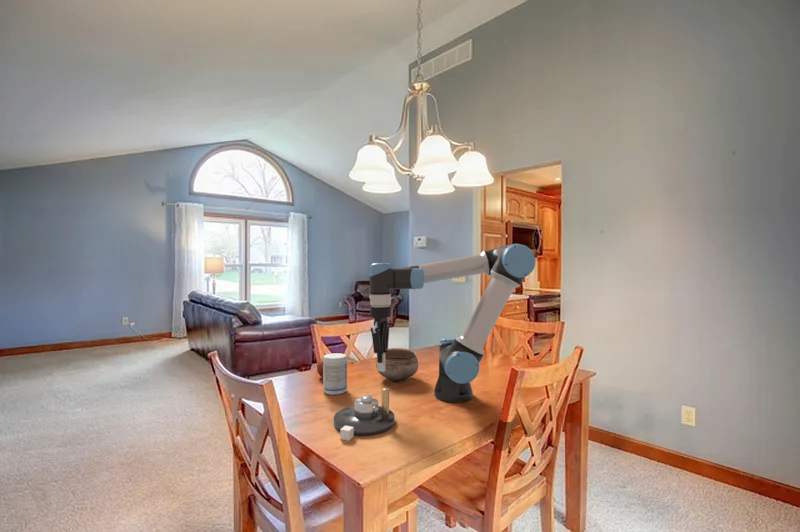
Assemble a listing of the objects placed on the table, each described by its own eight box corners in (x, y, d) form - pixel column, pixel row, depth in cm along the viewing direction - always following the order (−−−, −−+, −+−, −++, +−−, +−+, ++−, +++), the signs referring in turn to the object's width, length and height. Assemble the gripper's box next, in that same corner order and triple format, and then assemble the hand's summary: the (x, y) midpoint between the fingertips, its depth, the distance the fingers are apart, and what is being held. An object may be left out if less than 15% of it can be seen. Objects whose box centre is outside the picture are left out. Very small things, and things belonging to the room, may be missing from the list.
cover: (381, 412, 135) (382, 394, 135) (372, 421, 128) (372, 402, 128) (360, 409, 138) (360, 391, 138) (350, 417, 131) (350, 399, 131)
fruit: (339, 380, 176) (340, 358, 176) (316, 382, 174) (316, 359, 174) (338, 373, 186) (338, 352, 186) (316, 374, 184) (317, 353, 184)
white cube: (353, 436, 122) (353, 426, 122) (349, 440, 119) (349, 430, 119) (344, 435, 123) (345, 425, 123) (340, 439, 120) (340, 429, 120)
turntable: (402, 415, 138) (403, 381, 138) (380, 440, 119) (380, 400, 119) (351, 407, 145) (351, 374, 145) (322, 429, 126) (322, 391, 126)
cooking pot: (406, 391, 163) (406, 361, 163) (365, 385, 170) (365, 356, 170) (426, 374, 186) (426, 348, 186) (389, 370, 194) (389, 345, 193)
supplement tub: (350, 392, 161) (351, 356, 160) (328, 397, 155) (329, 359, 155) (340, 386, 169) (340, 351, 168) (319, 390, 163) (319, 354, 163)
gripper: (378, 303, 151) (378, 365, 151) (363, 307, 139) (364, 374, 139) (396, 304, 148) (397, 366, 149) (383, 308, 136) (384, 377, 137)
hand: (381, 370), depth 144 cm, fingers closed
